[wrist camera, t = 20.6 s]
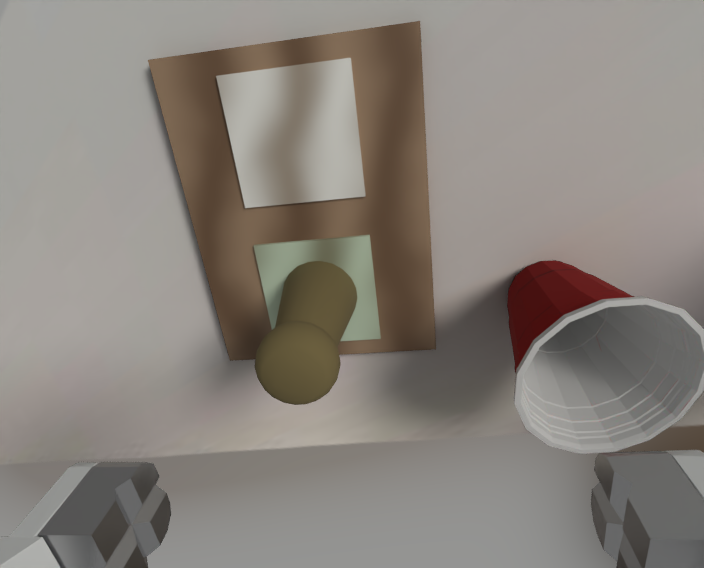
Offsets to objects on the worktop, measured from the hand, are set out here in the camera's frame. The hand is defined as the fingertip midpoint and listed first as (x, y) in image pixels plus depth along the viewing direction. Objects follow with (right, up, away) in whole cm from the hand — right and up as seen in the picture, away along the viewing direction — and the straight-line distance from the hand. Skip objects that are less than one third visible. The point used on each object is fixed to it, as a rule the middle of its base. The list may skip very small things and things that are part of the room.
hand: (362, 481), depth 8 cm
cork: (-3, +3, +28) cm, 28 cm away
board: (-3, +9, +26) cm, 28 cm away
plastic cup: (+15, +3, +28) cm, 32 cm away
